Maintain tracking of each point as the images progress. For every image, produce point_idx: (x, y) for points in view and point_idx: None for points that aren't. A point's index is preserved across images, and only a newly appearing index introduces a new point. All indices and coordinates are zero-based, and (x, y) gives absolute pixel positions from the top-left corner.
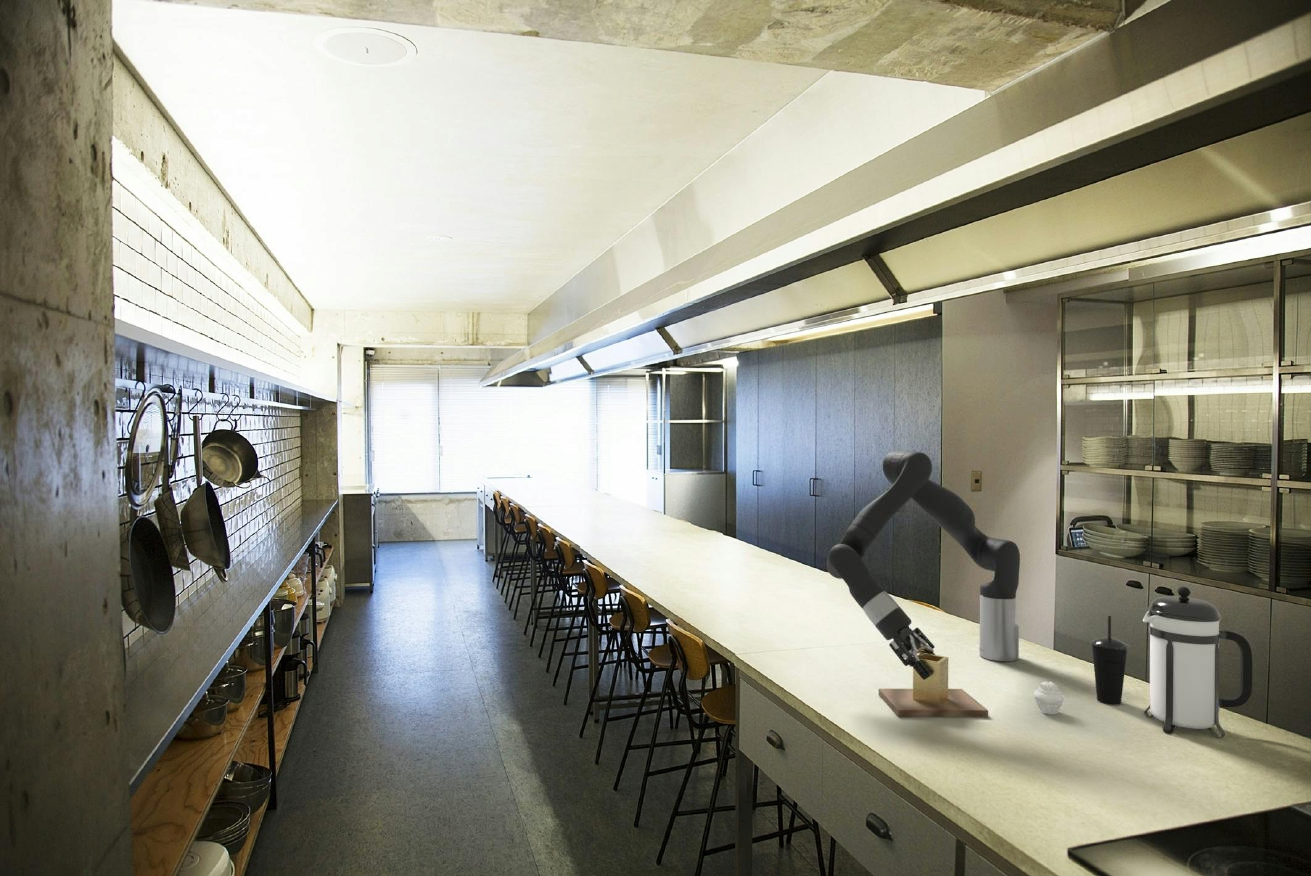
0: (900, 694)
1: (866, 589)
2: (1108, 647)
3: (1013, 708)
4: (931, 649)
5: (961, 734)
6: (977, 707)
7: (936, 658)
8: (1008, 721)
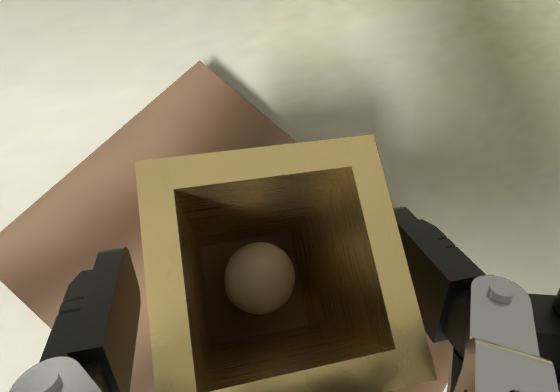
0: None
1: None
2: None
3: (26, 43)
4: (60, 383)
5: (422, 80)
6: (200, 99)
7: (184, 262)
8: (189, 17)
